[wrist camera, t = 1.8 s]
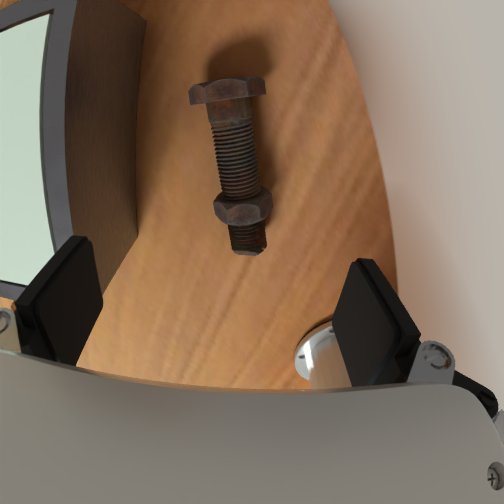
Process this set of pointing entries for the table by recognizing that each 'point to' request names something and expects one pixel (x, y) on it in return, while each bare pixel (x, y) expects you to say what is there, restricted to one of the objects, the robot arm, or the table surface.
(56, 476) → the robot arm
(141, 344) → the table surface
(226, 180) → the bolt
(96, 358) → the table surface
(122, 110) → the frame
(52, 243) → the trapdoor
